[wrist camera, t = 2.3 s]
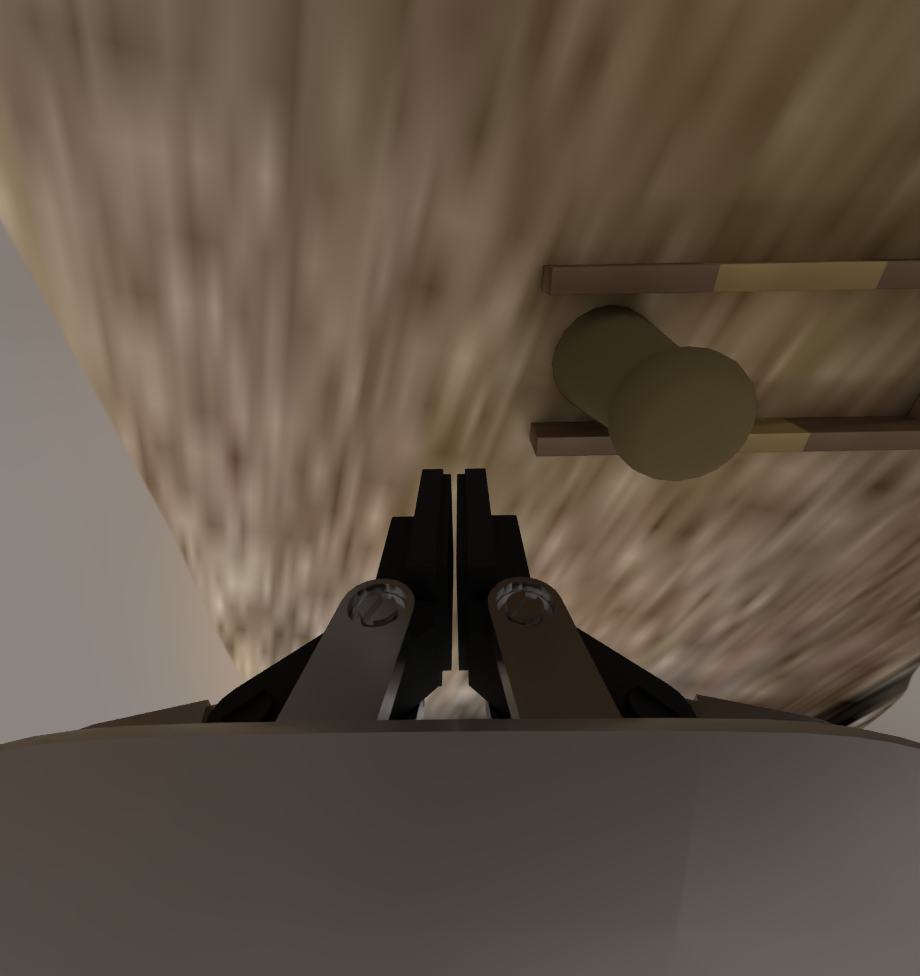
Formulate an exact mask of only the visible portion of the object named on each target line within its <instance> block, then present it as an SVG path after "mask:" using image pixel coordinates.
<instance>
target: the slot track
mask: <svg viewBox="0 0 920 976" xmlns="http://www.w3.org/2000/svg"><path fill="white" fill-rule="evenodd" d="M916 288H920V259H881V260H825V261H769V262H713V263H657V264H602V265H546V266H543V279H542V291H543V292H545V293H547V294H549V295H582V294H638V293H693V292H749V291H805V290H860V289H916ZM530 442H531V444H532V447H533V449H534V452H535V454H536V456H587V455H618V453H617V452H616V450H615V448H614V446H613V443H612V441H611V439H610V436H609V432H608V428H607V427H606V426H604V425H603V424H601V423H600V422H552V423H531V434H530ZM911 449H920V395H919V397H918V399H917V401H916V402H915V404H914V406H913V408H912V409H911V411H910V413H909V415H908V416H878V417H824V418H769V419H755V422H754V426H753V428H752V430H751V432H750V434H749V436H748V438H747V440H746V442H745V444H744V445H743V446H742V447H741V448H740V449H739V451H738V452H737V453H749V452H803V451H857V450H911Z"/></svg>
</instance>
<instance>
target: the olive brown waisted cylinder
mask: <svg viewBox="0 0 920 976" xmlns="http://www.w3.org/2000/svg"><path fill="white" fill-rule="evenodd" d="M552 365H553V375H554V380H555V383H556V385H557V387H558V389H559V391H560V393H561V394H562V395H563V396H564V397H565V398H566V399H567V400H568V401H569V402H570V403H572V404H573V405H575V406H576V407H578V408H579V409H581V410H582V411H584V412H585V413H586V414H588V415H589V416H591V417H592V418H594V419H595V420H597V421H598V422H600V423H601V424H603V425H604V426H606V427H607V428H608V432H609V436H610V439H611V441H612V443H613V446H614V448H615V450H616V452H617V453H618V455H619V456H620V457H621V458H622V459H623V460H624V461H625V462H626V463H627V464H628V465H629V466H630V467H631V468H632V469H634V470H636V471H638V472H640V473H642V474H644V475H647V476H649V477H651V478H653V479H658V480H669V481H681V480H686V479H692V478H697V477H700V476H703V475H705V474H707V473H709V472H712V471H714V470H716V469H718V468H719V467H720V466H722V465H723V464H724V463H726V462H727V461H728V460H730V459H731V458H732V457H733V456H734V455H735V454H736V453H737V452H738V451H739V449H740V448H741V447H742V446H743V445H744V444H745V442H746V440H747V438H748V436H749V434H750V432H751V430H752V428H753V426H754V422H755V416H756V410H757V400H756V396H755V391H754V386H753V383H752V381H751V380H750V379H749V377H748V376H747V374H746V373H745V372H744V370H743V369H742V368H741V367H740V366H739V364H738V363H737V362H736V361H734V360H732V359H730V358H728V357H727V356H725V355H723V354H721V353H719V352H717V351H714V350H711V349H706V348H697V347H679V346H677V345H676V344H675V343H674V342H673V341H672V340H670V339H669V338H668V337H667V336H666V335H665V334H663V333H662V332H661V331H660V330H659V329H658V328H656V327H655V326H654V325H653V324H652V323H651V322H649V321H648V320H647V319H646V318H645V317H644V316H642V315H641V314H639V313H638V312H636V311H634V310H632V309H630V308H628V307H623V306H615V305H609V306H604V307H600V308H595V309H592V310H591V311H589V312H587V313H585V314H584V315H582V316H580V317H578V318H577V319H576V320H575V321H574V322H573V323H572V324H571V325H570V326H569V327H568V328H567V329H566V330H565V331H564V333H563V335H562V337H561V339H560V341H559V342H558V344H557V346H556V349H555V354H554V358H553V363H552Z"/></svg>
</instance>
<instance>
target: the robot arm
mask: <svg viewBox="0 0 920 976" xmlns="http://www.w3.org/2000/svg"><path fill="white" fill-rule="evenodd" d="M456 568H457V611H458V651H459V670H469V686H471V687H472V688H473V689H474V690H475V691H476V692H477V693H478V694H480V695H481V696H482V697H483V698H484V699H485V707H486V714H487V719H449V720H422V717H423V712H424V699H425V698H426V697H427V696H428V695H429V694H430V693H431V692H433V691H434V690H435V689H436V688H437V687H438V686H442V671H447V670H451V667H452V616H453V526H452V492H451V474H443V469H423V470H422V475H421V480H420V486H419V492H418V498H417V503H416V509H415V515H414V517H393V518H392V520H391V523H390V527H389V531H388V535H387V539H386V543H385V546H384V550H383V554H382V558H381V562H380V566H379V569H378V573H377V577H376V579H375V580H371V581H366V582H364V583H362V584H360V585H358V586H356V587H355V588H353V589H352V590H351V591H349V592H348V593H347V594H346V596H345V597H344V598H343V599H342V601H341V603H340V605H339V606H338V608H337V610H336V612H335V614H334V615H333V617H332V619H331V621H330V623H329V625H328V626H327V628H326V630H325V632H324V633H323V634H321V635H320V636H318V637H317V638H315V639H313V640H312V641H310V642H309V643H307V644H305V645H304V646H302V647H301V648H299V649H298V650H296V651H294V652H293V653H291V654H290V655H288V656H286V657H285V658H283V659H282V660H280V661H279V662H277V663H275V664H274V665H272V666H271V667H269V668H267V669H266V670H264V671H263V672H261V673H259V674H258V675H256V676H255V677H253V678H252V679H250V680H248V681H247V682H245V683H244V684H242V685H240V686H239V687H237V688H236V689H235V690H233V691H232V692H231V693H229V694H228V695H227V696H225V697H224V698H223V699H222V700H221V701H220V702H219V703H218V704H216V705H210V703H209V701H208V700H204V701H199V702H195V703H190V704H186V705H181V706H177V707H172V708H167V709H163V710H158V711H153V712H149V713H145V714H139V715H135V716H131V717H126V718H122V719H116V720H112V721H107V722H103V723H98V724H94V725H91V726H88V727H85V728H82V729H79V730H74V731H67V732H60V733H53V734H47V735H40V736H33V737H29V738H25V739H20V740H16V741H12V742H8V743H4V744H0V976H920V743H918V742H915V741H912V740H908V739H905V738H901V737H897V736H892V735H887V734H883V733H878V732H874V731H869V730H864V729H860V728H854V727H846V726H838V725H833V724H831V723H829V722H826V721H823V720H820V719H817V718H814V717H810V716H805V715H800V714H795V713H790V712H784V711H779V710H774V709H769V708H764V707H759V706H754V705H749V704H743V703H738V702H733V701H728V700H723V699H718V698H713V697H707V696H702V695H697V694H696V696H695V698H694V700H690V699H685V698H684V697H683V696H682V695H681V694H680V693H679V692H678V691H676V690H675V689H674V688H672V687H671V686H670V685H669V684H667V683H665V682H664V681H662V680H661V679H659V678H657V677H656V676H654V675H653V674H651V673H649V672H648V671H646V670H644V669H643V668H641V667H640V666H638V665H636V664H635V663H633V662H632V661H630V660H628V659H627V658H625V657H623V656H622V655H620V654H619V653H617V652H615V651H614V650H612V649H611V648H609V647H607V646H606V645H604V644H602V643H601V642H599V641H598V640H596V639H594V638H593V637H591V636H590V635H588V634H586V633H585V632H583V631H581V630H580V629H578V628H577V627H576V626H575V624H574V622H573V620H572V618H571V616H570V614H569V612H568V610H567V608H566V606H565V604H564V603H563V601H562V599H561V597H560V596H559V594H558V593H557V592H556V590H555V589H553V588H552V587H551V586H549V585H548V584H547V583H544V582H542V581H540V580H538V579H533V578H530V574H529V570H528V565H527V561H526V556H525V552H524V547H523V543H522V538H521V534H520V529H519V525H518V520H517V517H516V515H491V510H490V502H489V494H488V486H487V478H486V470H485V468H483V469H465V474H457V553H456Z"/></svg>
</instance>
